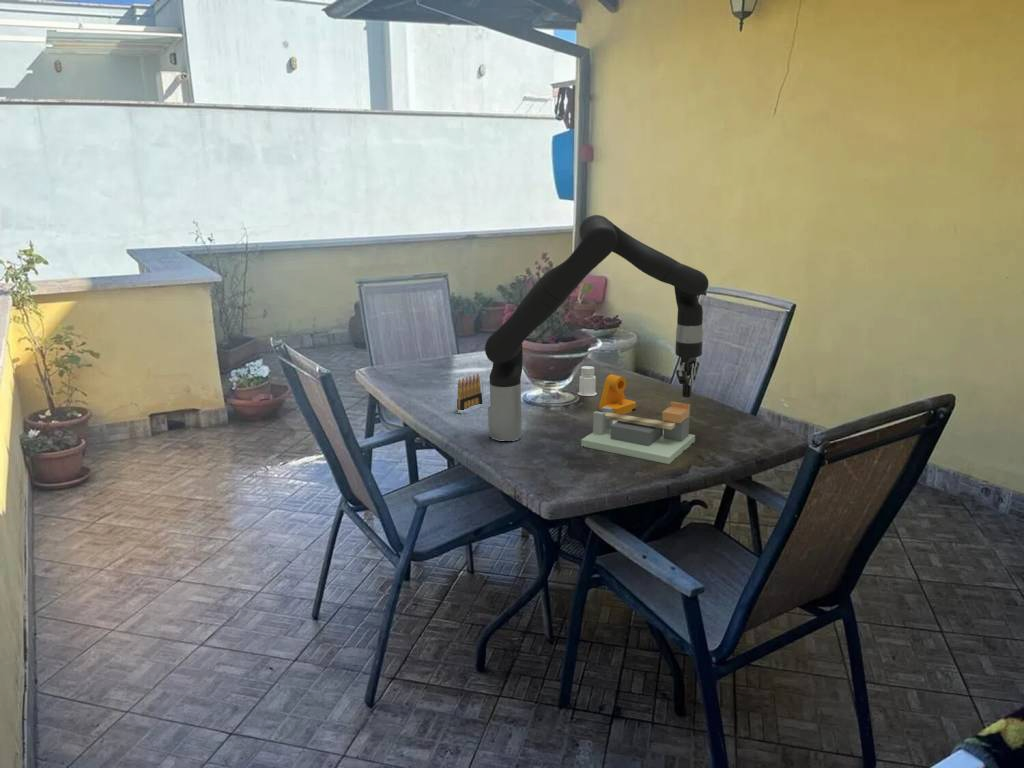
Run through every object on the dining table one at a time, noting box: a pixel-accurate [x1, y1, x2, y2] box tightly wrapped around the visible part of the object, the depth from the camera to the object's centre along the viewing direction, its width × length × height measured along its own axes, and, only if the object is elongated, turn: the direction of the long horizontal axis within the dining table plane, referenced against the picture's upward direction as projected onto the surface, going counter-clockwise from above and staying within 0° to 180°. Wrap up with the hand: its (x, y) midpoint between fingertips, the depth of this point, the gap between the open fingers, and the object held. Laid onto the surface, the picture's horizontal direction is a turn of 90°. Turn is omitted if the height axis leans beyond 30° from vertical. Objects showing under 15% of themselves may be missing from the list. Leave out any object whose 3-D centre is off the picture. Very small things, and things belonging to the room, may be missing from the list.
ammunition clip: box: [456, 373, 483, 410], centre depth 242 cm, size 11×2×12 cm, turn 139°
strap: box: [604, 411, 675, 430], centre depth 208 cm, size 23×3×2 cm, turn 56°
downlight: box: [577, 365, 598, 397], centre depth 257 cm, size 8×7×10 cm
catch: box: [661, 401, 691, 423], centre depth 206 cm, size 6×7×4 cm
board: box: [580, 406, 696, 465], centre depth 208 cm, size 27×20×8 cm
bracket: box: [598, 373, 637, 415], centre depth 238 cm, size 11×7×12 cm, turn 130°
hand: (686, 396), depth 211 cm, fingers closed
